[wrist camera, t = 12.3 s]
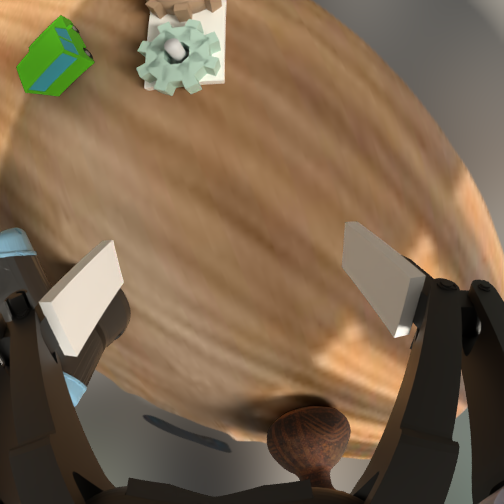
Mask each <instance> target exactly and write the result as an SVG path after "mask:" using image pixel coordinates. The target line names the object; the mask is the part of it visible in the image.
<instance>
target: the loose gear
mask: <svg viewBox="0 0 504 504" xmlns="http://www.w3.org/2000/svg"><path fill="white" fill-rule="evenodd" d="M158 30H159V32H160V34H159V35H158V36H157V37H156V38H155V39H154V40H153V41H152V42H148V41H142V43H141V45H140V47H139V49H138V52H139V53H141V54H142V55H143V56H144V57H146V59H145V63H144V64H143V65H141V66H139V67H137V68H136V69H137V71H138V74H139V76H140V78H142V79H144V80H145V81H147V82H149V83H151V82H153V81H155V80H157V81H156V84H155V86H154V89H155V90H157V91H159V92H161V93H163V94H166V95H170V96H173V94H174V91H175V89H176V88H178V87H185V89H186V90H187V91H188V92H189V93H190V94H193V93H195V92H197V91H200V90H202V88H201V86H200V83H199V81H200V80H201V79H202V78H203V77H204V76H205V75H206V74H210V75H213V76H217V73H218V71H219V69H220V67H221V65H220V61H219V58H217V57H213V56H212V54H213V53H216V52H218V51H221V47H220V42H219V39H218V37H217V35H216V33H215V31H214V32H211V33H209V34H206V35H204V34H203V33H204V31H203V28H202V25H201V22H200V21H197V20H192V19H188V21H187V23H186V24H185V26H184V27H176V28H173V27H172V26H171V24H170V23H169V22H167V23H164V24H162V25H160V26H158ZM172 38H175V39H178V40H179V42H180V43H181V45H182V47H183V48H184V50H185V51H189V56H188V57H187V58H186V59H185V60H184V61H183V62H182V63H179V64H171V58H172V57H171V56H170V54H169V53H168V52H167V51H166V50H165V48H164V44H165V42H166V41H167V40H169V39H172Z"/></svg>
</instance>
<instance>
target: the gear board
mask: <svg viewBox="0 0 504 504" xmlns="http://www.w3.org/2000/svg"><path fill="white" fill-rule="evenodd" d="M146 1H147V3H145V4H146V6H147V7H148V8H149V10H150V18H149V27H148V37H147V41H148V42H152V41H153V40H154V39H155V38H156V37H157V36H158V35H159V34H160V32H159V30H158V26H160V25H162V24H164V23H167V22H169V23H170V24H171V26H172V27H173V28H176V27H184V26H185V24H186V23H187V21H188V19H192V20H197V21H200V22H201V25H202V28H203V31H204V33H203V34H204V35H206V34H209V33H211V32H214V31H215V33H216V35H217V37H218V39H219V42H220V47H221V51H218V52H216V53H213V54H212V56H213V57H217V58H219V61H220V65H221V67H220V69H219V71H218V73H217V76H213V75H210V74H206V75H205V76H204V77H203V78H202V79H201V80H200V81H199V83H200V85H204V84H224V83H225V29H226V0H146ZM164 48H165V50H166V51H167V52H168V53H169V54H170V56H171V57H172V58H171V64H179V63H182V62H183V61H184V60H185V59H186V58H187V57H188V56H189V51H185V50H184V48H183V47H182V45H181V43H180V42H179V40H178V39H175V38H172V39H169V40H167V41H166V42H165V44H164ZM156 81H157V80H155V81H153V82H151V83H149V82H147V81H145V84H144V88H145V89H146V90H148V91H150V90H155V89H154V86H155V84H156Z"/></svg>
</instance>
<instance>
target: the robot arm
mask: <svg viewBox="0 0 504 504" xmlns="http://www.w3.org/2000/svg"><path fill="white" fill-rule="evenodd" d="M36 255H37V253H36V251H34V249H33V247H32V245H31V243H30V241H29V239H28V236H27V234H26V233H25V231H24V230H23V229H21V228H17V227H15V228H10V229H7V230H4V231H1V232H0V359H1V360H2V362H3V364H2V365H1V363H0V504H444V502H445V499H446V496H447V493H448V490H449V487H450V484H451V481H452V478H453V474H454V470H455V466H456V463H457V459H458V454H459V444H458V442H455V441H453V440H452V434H453V429H454V424H455V418H456V412H457V405H458V397H459V388H460V377H461V370H462V375H463V380H464V385H465V391H466V397H467V404H468V412H469V419H470V431H471V446H472V498H473V504H504V302H503V300H502V298H501V297H500V295H499V293H498V292H497V290H496V289H495V288H494V286H493V285H491V284H490V283H489V282H487V281H485V280H474V281H473V282H472V284H471V287H470V290H469V291H466V290H460V289H459V287H458V286H457V285H456V284H455V283H454V282H452V281H450V280H447V279H443V278H437V279H433V278H432V277H431V276H430V275H429V274H428V273H426V272H425V271H424V270H423V269H421V268H420V267H419V266H418V265H416V263H414V262H413V261H412V260H411V259H409V258H407V257H405V256H402V255H400V254H399V253H398V252H397V251H395V250H394V249H393V248H391V247H390V246H389V245H388V244H386V243H385V242H384V241H383V240H381V239H380V238H379V237H377V236H376V235H375V234H373V233H372V232H371V231H369V230H368V229H367V228H365V227H364V226H363V225H361V224H360V223H359V222H345V233H344V247H343V259H342V268H343V269H344V270H345V272H346V273H347V274H348V275H349V277H350V278H351V279H352V281H353V282H354V283H355V285H356V286H357V287H358V288H359V290H360V291H361V292H362V294H363V295H364V296H365V298H366V299H367V301H368V302H369V303H370V305H371V306H372V307H373V309H374V310H375V311H376V313H377V314H378V316H379V317H380V318H381V320H382V321H383V323H384V324H385V325H386V327H387V328H388V330H389V331H390V332H391V334H392V335H393V337H394V338H396V337H400V336H404V335H408V334H409V332H410V329H411V326H412V323H414V324H415V325H416V326H417V331H416V334H415V336H414V339H413V342H412V344H411V347H410V349H411V353H410V357H409V361H408V364H407V368H406V371H405V375H404V378H403V381H402V384H401V387H400V390H399V393H398V396H397V399H396V402H395V405H394V408H393V410H392V413H391V415H390V418H389V421H388V423H387V425H386V428H385V430H384V433H383V435H382V437H381V440H380V442H379V444H378V446H377V448H376V450H375V453H374V455H373V457H372V459H371V461H370V463H369V465H368V467H367V468H366V470H365V472H364V474H363V475H362V477H361V478H360V480H359V481H358V482H357V484H356V486H355V487H354V489H353V490H352V492H351V493H350V494H348V493H345V492H342V491H338V490H333V489H328V488H320V487H311V483H310V479H309V480H303V481H296V482H290V483H282V484H273V485H263V486H260V487H256V488H253V489H249V490H245V491H241V492H237V493H233V494H229V495H224V496H218V497H212V496H208V495H204V494H200V493H196V492H193V491H189V490H186V489H183V488H179V487H176V486H173V485H170V484H165V483H157V482H150V481H145V480H139V479H133V478H129V480H128V485H127V486H124V487H117V488H116V487H115V486H114V485H113V484H112V483H111V482H110V481H109V480H108V478H107V477H106V476H105V474H104V472H103V470H102V469H101V467H100V465H99V463H98V461H97V459H96V457H95V455H94V453H93V451H92V449H91V446H90V444H89V442H88V440H87V438H86V436H85V433H84V431H83V428H82V426H81V424H80V421H79V418H78V416H77V413H76V411H75V408H74V407H75V406H76V405H77V404H78V402H79V400H80V398H81V397H82V395H83V393H84V392H85V391H86V389H87V385H88V383H89V381H90V379H91V377H92V374H93V372H94V370H95V368H96V366H97V364H98V362H99V360H100V357H101V355H102V353H103V351H104V350H105V348H106V347H107V346H109V345H110V344H111V343H112V342H113V341H114V340H116V339H117V338H119V337H120V336H121V335H122V334H123V333H124V331H125V330H126V328H127V326H128V324H129V321H130V307H129V303H128V301H127V298H126V296H125V295H124V293H123V291H122V290H121V289H120V287H121V286H122V284H123V283H124V281H123V278H122V274H121V270H120V267H119V263H118V259H117V255H116V251H115V246H114V242H113V240H106V241H101V242H100V243H99V244H98V245H97V246H96V247H95V248H93V249H92V250H91V251H90V252H89V253H88V254H87V255H86V256H85V257H83V258H82V259H81V260H80V261H79V262H78V263H77V264H76V265H75V266H74V267H73V268H72V269H71V270H70V271H69V272H68V273H67V274H65V275H64V276H63V277H62V278H61V279H60V280H59V281H58V282H57V283H56V284H55V285H54V286H53V287H51V285H50V283H49V281H48V279H47V277H46V275H45V273H44V271H43V269H42V267H41V265H40V263H39V260H38V258H37V256H36Z"/></svg>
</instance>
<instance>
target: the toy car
mask: <svg viewBox="0 0 504 504" xmlns="http://www.w3.org/2000/svg"><path fill="white" fill-rule="evenodd" d="M85 48H86V46H85V44H84V42H83V40H82V39H81V37H80V35H79V31H78V29H77V28H76V27H75V26H74V25H73V23H72V22H71V21H70V20H69V19H67V18H65V17H63V16H62V15H60V16H59V17H58V18H57V19H56V20H55V21H54V22H53V23H52V24H51V25H50V26H49V27H48V28H47V29H46V30H45V31H44V32H43V33H42V34H41V35H40V36H39V37H38V38H37V39H36V40H35V41H34V42H33V43H32V44H31V45H30V47H29V52H28V54H27V55H26V56H25V57H24V58H23V59H22V61H21V62H20V63H19V64H18V65H17V67H16V68H17V71H18V74H19V77H20V80H21V83H22V85H23V88H24V91H25V93H34V94H43V95H51V96H60V95H61V94H62V92H63V91H64V90H65V89H66V88H67V87H68V86H70V85H71V84H72V83H73V82H74V81H75V80H76V79H77V78H78V77H79V76H80V75H81V74H82V73H83V72H84V71H86V70H87V69H88V68H89V67H90V66H91V65H92V64H94V63H95V62H94V61H93V57H92V55H91V53H90V52H89V51H88V50H87V49H85Z"/></svg>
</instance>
